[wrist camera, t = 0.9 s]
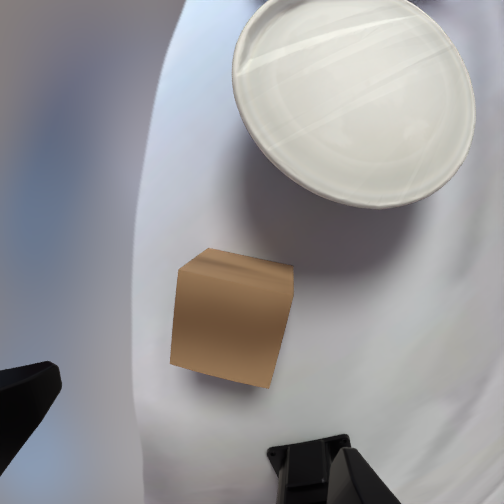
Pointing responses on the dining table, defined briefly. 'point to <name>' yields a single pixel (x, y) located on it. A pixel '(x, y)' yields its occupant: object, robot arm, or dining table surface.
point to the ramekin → (355, 98)
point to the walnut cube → (231, 316)
